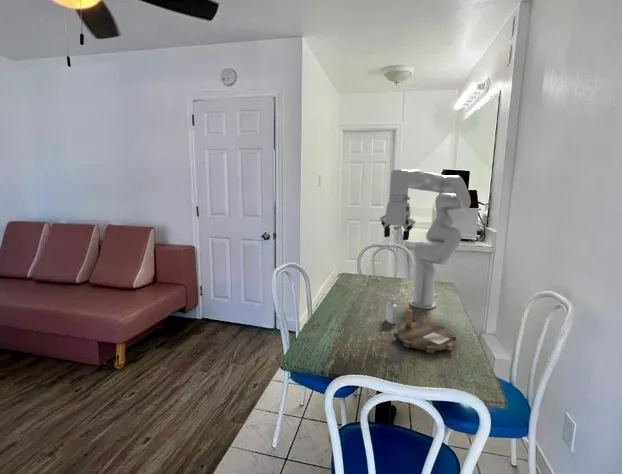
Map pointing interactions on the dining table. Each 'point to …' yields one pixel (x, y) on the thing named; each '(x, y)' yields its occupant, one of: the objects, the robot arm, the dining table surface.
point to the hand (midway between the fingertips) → (396, 238)
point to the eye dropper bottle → (391, 311)
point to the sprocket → (424, 335)
